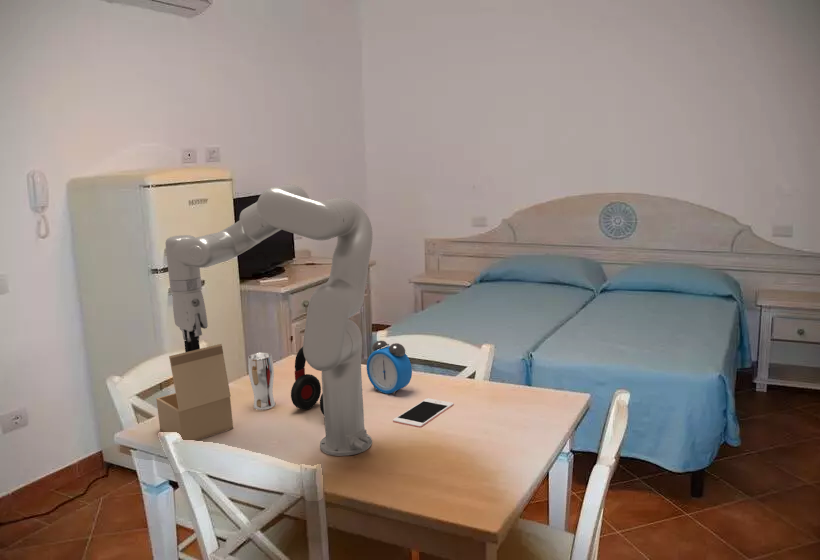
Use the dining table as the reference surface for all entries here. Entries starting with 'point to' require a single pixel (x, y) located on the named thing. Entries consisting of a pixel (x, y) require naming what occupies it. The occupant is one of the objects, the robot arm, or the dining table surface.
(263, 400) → the beer glass
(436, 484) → the dining table surface
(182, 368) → the lid
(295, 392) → the headphones
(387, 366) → the alarm clock
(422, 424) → the cell phone
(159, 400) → the carton
